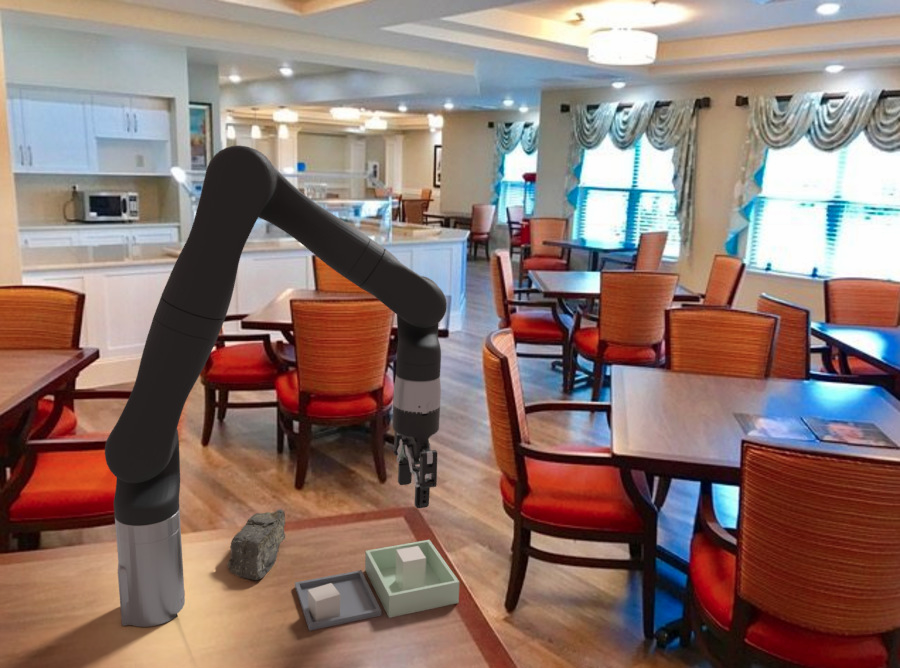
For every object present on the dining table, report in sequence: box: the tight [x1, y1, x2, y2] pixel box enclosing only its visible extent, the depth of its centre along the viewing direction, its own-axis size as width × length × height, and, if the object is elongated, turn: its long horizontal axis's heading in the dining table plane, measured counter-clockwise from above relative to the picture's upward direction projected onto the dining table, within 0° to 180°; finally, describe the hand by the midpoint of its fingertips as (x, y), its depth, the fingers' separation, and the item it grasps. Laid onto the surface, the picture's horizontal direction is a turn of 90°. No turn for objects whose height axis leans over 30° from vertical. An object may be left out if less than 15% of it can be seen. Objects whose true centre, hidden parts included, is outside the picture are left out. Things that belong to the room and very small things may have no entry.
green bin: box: [364, 539, 460, 619], centre depth 121 cm, size 12×14×4 cm
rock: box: [226, 508, 286, 581], centre depth 128 cm, size 17×7×10 cm
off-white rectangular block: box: [395, 546, 426, 591], centre depth 121 cm, size 4×4×6 cm
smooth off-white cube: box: [308, 583, 340, 622], centre depth 112 cm, size 4×4×4 cm
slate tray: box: [294, 569, 382, 632], centre depth 116 cm, size 12×12×2 cm
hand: (412, 495), depth 117 cm, fingers open, 8 cm apart
